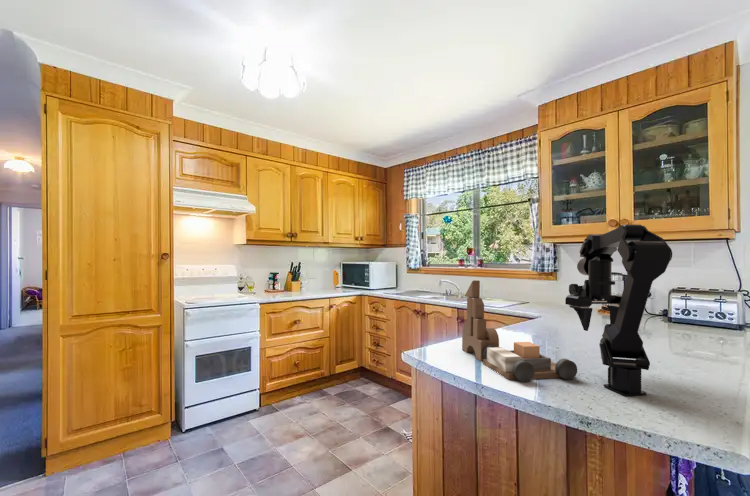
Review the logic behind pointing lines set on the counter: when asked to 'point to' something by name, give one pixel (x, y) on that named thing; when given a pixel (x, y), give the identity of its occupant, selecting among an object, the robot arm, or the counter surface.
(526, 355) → the orange block
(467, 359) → the counter surface
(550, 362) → the chassis
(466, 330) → the wooden toy
